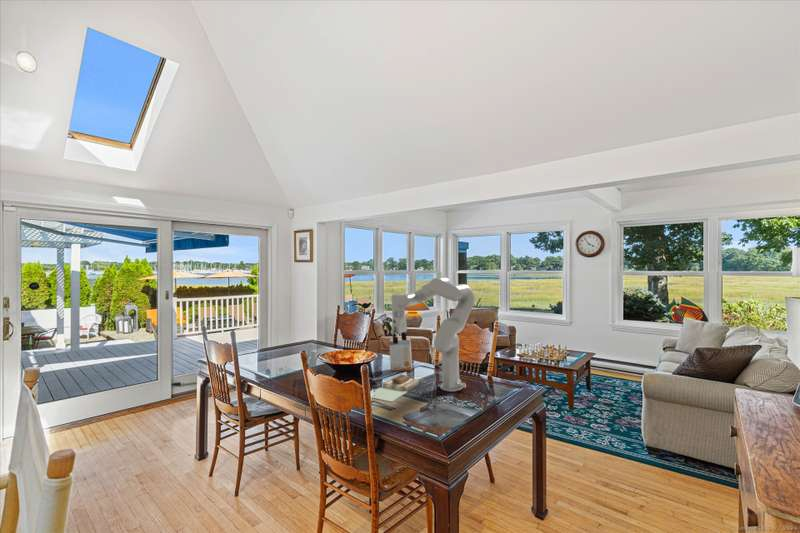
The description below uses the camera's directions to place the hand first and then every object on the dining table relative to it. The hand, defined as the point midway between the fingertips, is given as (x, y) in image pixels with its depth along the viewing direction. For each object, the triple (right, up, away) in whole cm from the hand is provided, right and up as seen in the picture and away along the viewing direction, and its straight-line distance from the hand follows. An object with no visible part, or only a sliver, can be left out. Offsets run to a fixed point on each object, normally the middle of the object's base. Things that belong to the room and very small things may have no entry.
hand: (399, 341), depth 232 cm
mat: (-8, -24, -24) cm, 35 cm away
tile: (+1, -21, -11) cm, 24 cm away
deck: (+1, -24, -11) cm, 26 cm away
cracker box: (+1, -23, +21) cm, 31 cm away
